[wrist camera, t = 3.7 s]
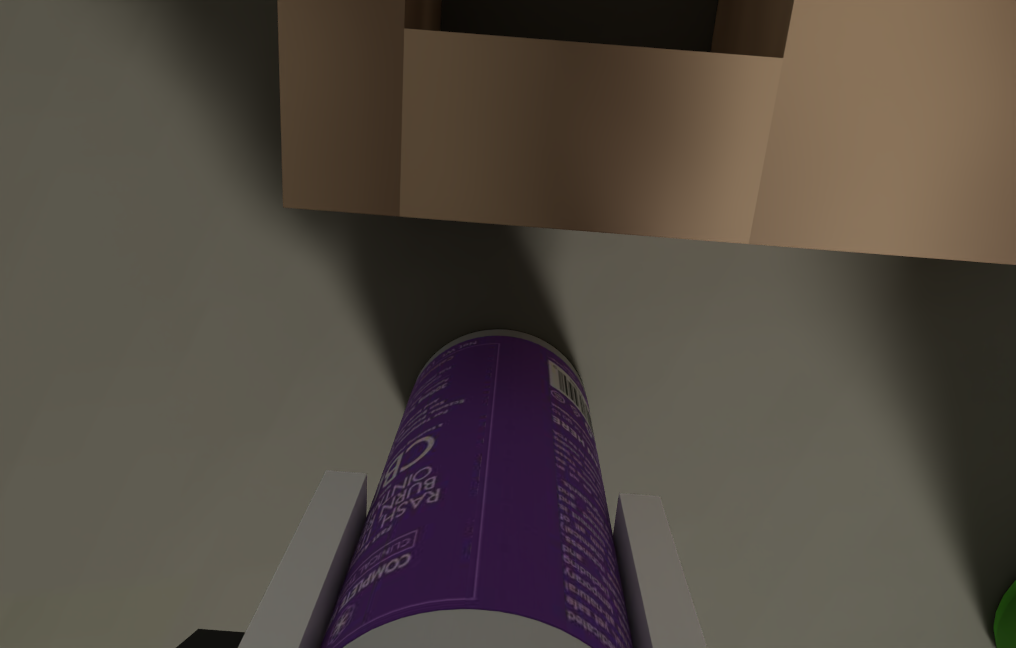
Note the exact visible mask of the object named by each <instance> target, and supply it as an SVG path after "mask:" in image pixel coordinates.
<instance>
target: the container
mask: <svg viewBox="0 0 1016 648" xmlns="http://www.w3.org/2000/svg"><path fill="white" fill-rule="evenodd" d="M320 648H634V647H633V642H632V637H631V631H630V626H629V620H628V615H627V610H626V604H625V599H624V594H623V588H622V583H621V577H620V572H619V567H618V561H617V556H616V551H615V545H614V540H613V534H612V529H611V524H610V518H609V513H608V508H607V502H606V497H605V491H604V486H603V481H602V475H601V470H600V465H599V459H598V454H597V449H596V443H595V438H594V432H593V427H592V422H591V416H590V411H589V406H588V401H587V397H586V393H585V390H584V386H583V384H582V381H581V379H580V377H579V375H578V373H577V372H576V370H575V369H574V367H573V366H572V364H571V363H570V362H569V361H568V360H567V358H566V357H565V356H564V355H562V354H561V353H560V352H559V351H558V350H557V349H555V348H554V347H553V346H551V345H550V344H548V343H547V342H545V341H543V340H541V339H539V338H537V337H534V336H532V335H529V334H526V333H523V332H518V331H513V330H503V329H494V330H484V331H478V332H474V333H470V334H467V335H464V336H462V337H459V338H457V339H455V340H453V341H451V342H450V343H448V344H447V345H445V346H444V347H442V348H441V349H440V350H438V351H437V352H436V353H435V354H434V355H433V356H432V357H431V358H430V359H429V361H428V362H427V363H426V364H425V366H424V367H423V369H422V370H421V372H420V374H419V376H418V378H417V380H416V383H415V385H414V387H413V390H412V392H411V395H410V398H409V400H408V403H407V406H406V409H405V412H404V414H403V417H402V420H401V423H400V426H399V428H398V431H397V434H396V437H395V440H394V442H393V445H392V448H391V451H390V454H389V456H388V459H387V462H386V465H385V468H384V470H383V473H382V476H381V479H380V482H379V484H378V487H377V490H376V493H375V496H374V498H373V501H372V504H371V507H370V510H369V512H368V515H367V518H366V521H365V524H364V526H363V529H362V532H361V535H360V538H359V540H358V543H357V546H356V549H355V552H354V554H353V557H352V560H351V563H350V566H349V568H348V571H347V574H346V577H345V580H344V582H343V585H342V588H341V591H340V594H339V596H338V599H337V602H336V605H335V608H334V610H333V613H332V616H331V619H330V622H329V624H328V627H327V630H326V633H325V635H324V638H323V641H322V644H321V647H320Z"/></svg>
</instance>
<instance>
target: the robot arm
mask: <svg viewBox="0 0 1016 648" xmlns="http://www.w3.org/2000/svg"><path fill="white" fill-rule="evenodd" d="M366 504H367V473H355V472H342V471H329V470H326V471H325V473H324V475H323V477H322V479H321V481H320V483H319V485H318V487H317V489H316V491H315V493H314V495H313V497H312V499H311V501H310V503H309V505H308V507H307V509H306V511H305V513H304V516H303V518H302V520H301V522H300V524H299V526H298V528H297V530H296V532H295V534H294V536H293V538H292V540H291V542H290V544H289V546H288V548H287V550H286V552H285V554H284V556H283V558H282V560H281V562H280V564H279V566H278V568H277V570H276V572H275V574H274V576H273V578H272V580H271V582H270V584H269V586H268V588H267V590H266V592H265V594H264V596H263V598H262V600H261V602H260V604H259V606H258V608H257V610H256V612H255V614H254V616H253V618H252V620H251V622H250V624H249V626H248V628H247V630H246V632H232V631H218V630H205V629H198V630H197V631H195V632H194V633H193V634H192V635H191V636H189V637H188V638H187V639H186V640H185V641H184V642H182V643H181V644H180V645H179V646H178V647H176V648H320V647H321V644H322V641H323V638H324V635H325V633H326V630H327V627H328V624H329V622H330V619H331V616H332V613H333V610H334V608H335V605H336V602H337V599H338V596H339V594H340V591H341V588H342V585H343V582H344V580H345V577H346V574H347V571H348V568H349V566H350V563H351V560H352V557H353V554H354V552H355V549H356V546H357V543H358V540H359V538H360V535H361V532H362V529H363V526H364V524H365V521H366ZM613 540H614V545H615V551H616V556H617V561H618V567H619V572H620V577H621V583H622V588H623V594H624V599H625V604H626V610H627V615H628V620H629V626H630V631H631V637H632V642H633V647H634V648H707V645H706V642H705V639H704V636H703V633H702V629H701V626H700V623H699V620H698V617H697V613H696V610H695V607H694V604H693V600H692V597H691V594H690V591H689V588H688V584H687V581H686V578H685V575H684V572H683V568H682V565H681V562H680V559H679V556H678V552H677V549H676V546H675V543H674V539H673V536H672V533H671V530H670V527H669V523H668V520H667V517H666V514H665V511H664V507H663V504H662V501H661V498H660V496H653V495H640V494H627V493H619V498H618V505H617V512H616V519H615V526H614V533H613Z"/></svg>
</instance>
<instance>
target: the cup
mask: <svg viewBox="0 0 1016 648" xmlns="http://www.w3.org/2000/svg"><path fill="white" fill-rule="evenodd" d="M993 629H994V635H995V641H996V647H997V648H1016V580H1015V582H1014V583H1013V584H1012V585H1011V587H1010V588H1009V589H1008V590H1007V592H1006V593H1005V594H1004V595H1003V598H1002V600H1001V602H1000V604H999V606H998V608H997V611H996V615H995V621H994V627H993Z"/></svg>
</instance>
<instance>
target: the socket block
mask: <svg viewBox="0 0 1016 648" xmlns="http://www.w3.org/2000/svg"><path fill="white" fill-rule="evenodd" d="M441 4H442V0H277V6H278V42H279V77H280V113H281V149H282V184H283V207H284V208H297V209H310V210H322V211H335V212H348V213H361V214H373V215H386V216H399V217H412V218H424V219H437V220H450V221H463V222H475V223H488V224H501V225H514V226H526V227H539V228H552V229H565V230H577V231H590V232H603V233H616V234H628V235H641V236H654V237H667V238H679V239H692V240H705V241H718V242H730V243H743V244H756V245H769V246H781V247H794V248H807V249H820V250H832V251H845V252H858V253H871V254H883V255H896V256H909V257H922V258H934V259H947V260H960V261H973V262H985V263H998V264H1011V265H1016V0H719V1H718V7H717V14H716V20H715V26H714V33H713V39H712V46H711V52H698V51H685V50H672V49H660V48H647V47H634V46H621V45H609V44H596V43H583V42H571V41H558V40H545V39H532V38H520V37H507V36H494V35H482V34H469V33H456V32H443V31H440V29H441Z"/></svg>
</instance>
